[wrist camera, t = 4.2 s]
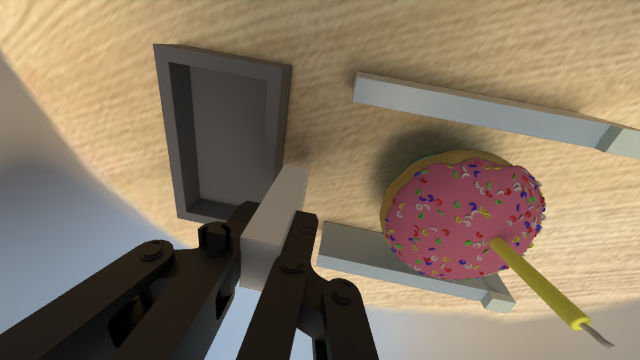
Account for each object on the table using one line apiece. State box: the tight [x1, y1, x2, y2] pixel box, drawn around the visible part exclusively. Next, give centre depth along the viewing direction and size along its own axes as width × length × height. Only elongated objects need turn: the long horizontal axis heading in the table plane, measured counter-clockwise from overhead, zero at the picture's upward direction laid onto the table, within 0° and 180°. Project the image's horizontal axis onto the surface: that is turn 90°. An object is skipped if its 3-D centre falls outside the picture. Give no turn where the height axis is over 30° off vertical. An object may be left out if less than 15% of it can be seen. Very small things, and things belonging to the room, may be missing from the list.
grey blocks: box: [316, 71, 640, 314], centre depth 17 cm, size 13×14×5 cm
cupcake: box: [380, 149, 615, 349], centre depth 14 cm, size 9×8×12 cm
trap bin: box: [153, 44, 292, 224], centre depth 18 cm, size 13×8×2 cm, turn 171°
